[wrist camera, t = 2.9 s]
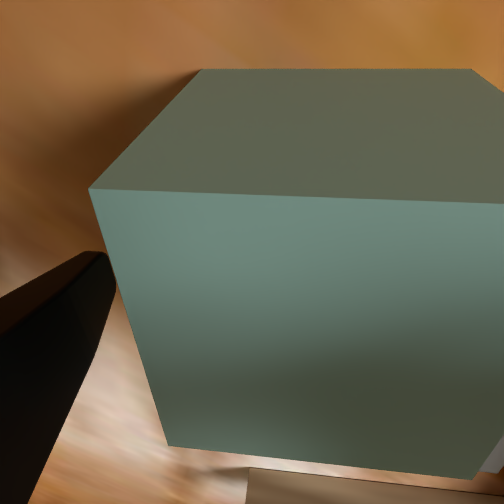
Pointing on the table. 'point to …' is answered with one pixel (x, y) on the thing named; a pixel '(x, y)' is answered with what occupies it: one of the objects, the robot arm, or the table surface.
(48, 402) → the robot arm
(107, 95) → the table surface
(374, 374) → the cube
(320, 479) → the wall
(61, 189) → the table surface
